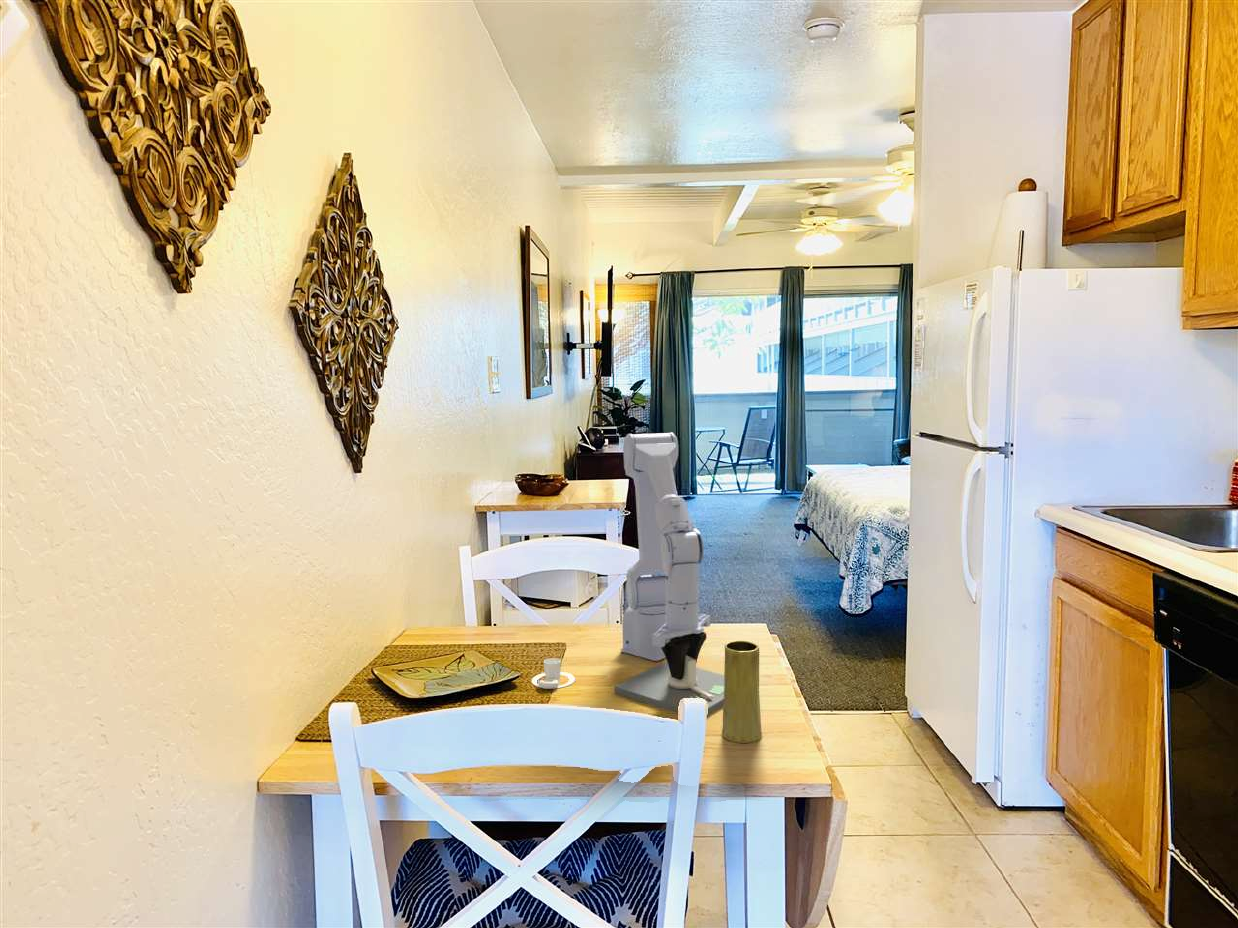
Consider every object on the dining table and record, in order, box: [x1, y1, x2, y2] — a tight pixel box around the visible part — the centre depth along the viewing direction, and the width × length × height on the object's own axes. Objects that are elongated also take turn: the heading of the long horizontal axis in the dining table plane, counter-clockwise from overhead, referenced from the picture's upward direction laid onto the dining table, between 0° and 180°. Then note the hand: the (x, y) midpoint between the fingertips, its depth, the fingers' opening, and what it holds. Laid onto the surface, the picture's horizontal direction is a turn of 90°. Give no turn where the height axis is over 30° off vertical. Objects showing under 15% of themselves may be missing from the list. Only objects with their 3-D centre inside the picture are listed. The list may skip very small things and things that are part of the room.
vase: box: [721, 639, 762, 744], centre depth 122 cm, size 6×6×14 cm
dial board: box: [613, 660, 724, 716], centre depth 140 cm, size 18×16×1 cm
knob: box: [668, 655, 713, 699], centre depth 138 cm, size 11×5×5 cm, turn 32°
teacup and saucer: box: [531, 657, 576, 690], centre depth 146 cm, size 9×8×4 cm
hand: (682, 675), depth 140 cm, fingers open, 3 cm apart
